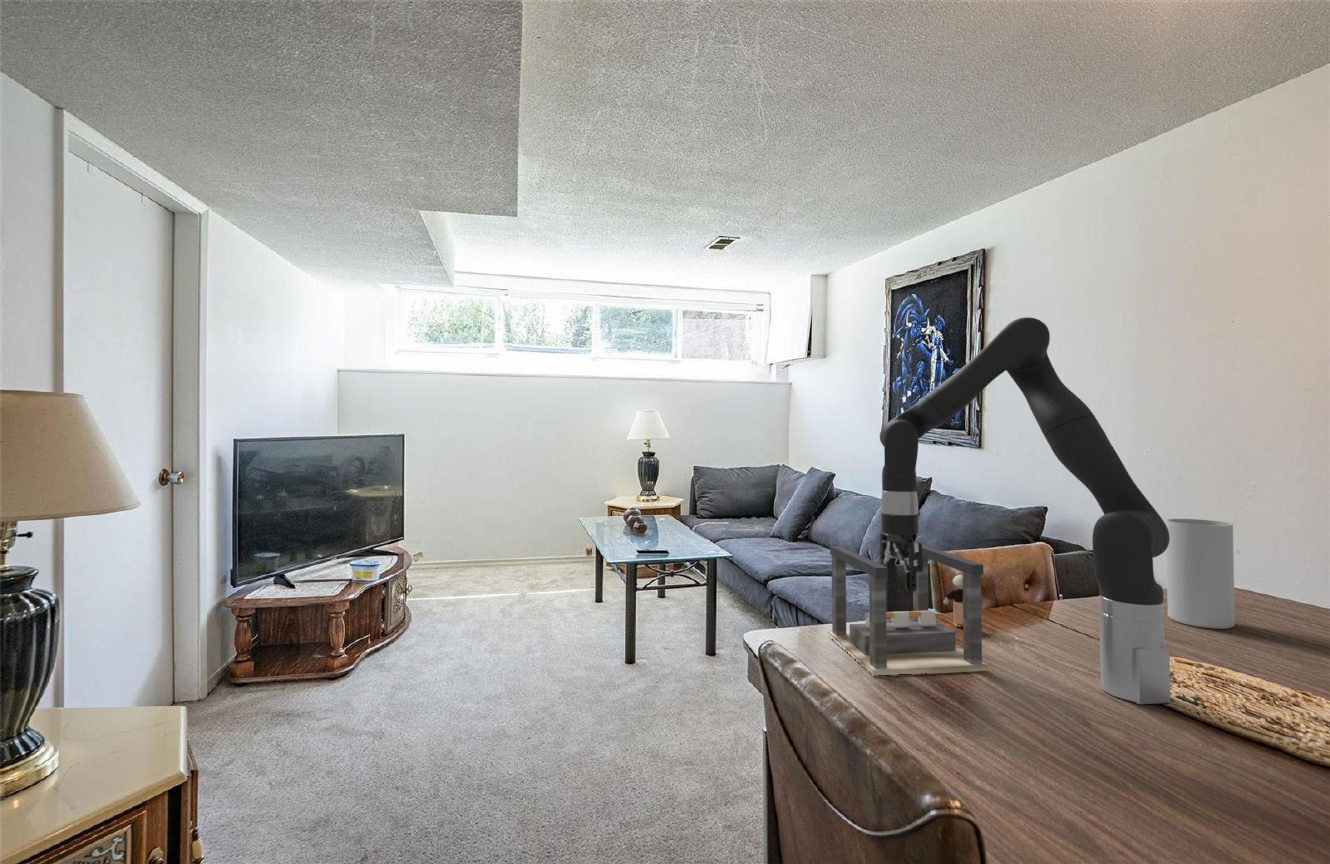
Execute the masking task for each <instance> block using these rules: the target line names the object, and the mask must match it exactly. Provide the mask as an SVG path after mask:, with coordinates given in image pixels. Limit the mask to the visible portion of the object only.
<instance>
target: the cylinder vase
mask: <svg viewBox="0 0 1330 864" xmlns="http://www.w3.org/2000/svg"><path fill="white" fill-rule="evenodd" d="M1165 524H1166V526H1167V528H1168V531H1169V537H1170V540H1169V545H1168V547H1167V549H1166V581H1167V582H1166V584H1167V585H1166V589H1167V590H1166V592H1167V595H1166V596H1167V599H1166V600H1167V616H1168V618H1170V619H1171V620H1172V621H1175V622H1177V623H1180V624H1183V625H1188V626H1190V627H1197V628H1203V629H1214V630H1225V629H1226V630H1227V629H1231V628H1233V627H1234V626H1235V625H1236V624H1235V623H1236V621H1235V617H1236V616H1235V573H1234V572H1235V567H1234V565H1235V563H1234V561H1235V560H1234V558H1235V557H1234V524H1233V523H1230V522H1227V521H1226V522H1225V521H1219V520H1211V519H1209V520H1208V519H1198V518H1196V519H1195V518H1194V519H1193V518H1170V519H1166V520H1165Z"/></svg>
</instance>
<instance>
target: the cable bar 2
mask: <svg viewBox="0 0 1330 864" xmlns="http://www.w3.org/2000/svg"><path fill="white" fill-rule="evenodd" d="M921 544H922V543H921ZM915 554H916V553H915ZM922 557H925V558H927V559H928V560H929V561H932V562H936V563H938V564H941V565H944V566H947V567H949V568H952V569H955V570H957V571H960V572H962V573H963V572H965V573H968V574H971V575H981V576H983V575H984V564H982V563H980V562H979V563H978V562H977V561H973V560H971V559H970V560H969V559H967V558H963V557H961V556H958V555H956V554H952V553H950V552H947V551H944V550H942V549H941V550H940V549H937V548H934V547H932V546H930V545H929V546H928V545H925V544H922Z"/></svg>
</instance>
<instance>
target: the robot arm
mask: <svg viewBox="0 0 1330 864" xmlns="http://www.w3.org/2000/svg"><path fill="white" fill-rule="evenodd" d="M1050 336H1051V335H1050V330H1049V327H1048V326H1047V324H1046V323H1044V322H1043V321H1042V320H1040V319H1037V318H1035V317H1029V316H1028V317H1027V316H1025V317H1020V318H1017V319H1014V320H1012V321H1011V322H1009V323H1008V324H1006V325H1005V326H1004V327H1003V329H1001V331H999V333H998V334H996V335H995V337H994V338H993V339H992V340H991V341H990V342H989V343H988V344H987V345H986V346H985V347H984V348H983V349H982V350H980V351H979V352H978V353H977V354H976V355H975V356H974V357H973V358H972V359H971V360H970V361H968V362H967V363H966V364H965V365H964V366H962V367H961V368H960V369H959V370H958V371H955V373H954V374H952V375H951V376H949V377H948V378H947V379H945V381H943V382H941V383H940V384H939V385H937V386H935V388H934V389H932V390H931V391H929V392H928V393H927V394H926V395H924V396H923V397H921V398H920V399H919V400H918V401H917V402H916V403H915V404H913V405H912V406H911V407H910V408H907V409H906V410H904V411H903V412H902V413H899V414H898V415H897V416H896V417H894V418H892V419H890V420H889V421H888V422H886V423H885V424H884V425H883V426H882V428H881V430H880V432H879V440H880V443H881V445H882V446H883V449H884V451H883V452H884V455H883V456H884V465H883V467H882V471H881V486H882V487H881V489H882V491H881V499H880V502H881V503H880V504H881V506H880V508H881V511H880V515H881V519H880V520H881V532H883V533H880V536H879V541H880V542H879V545H880V546H879V558H880V560H881V561H883V564H884V565H885V567H887V568H888V578H886V582H888V583H895V582H897V581H898V577H897V575H898V573H897V571H898V570H897V567H898V566H897V562H898V563H900V565H902V566H903V569H904V590H906V591H907V592H913V591H916V589H917V582H916V574H917V573H918V572H922V571H923V559H922V543H921V542H914V539H913V536H915V535H918V533H919V532H920V531H919V500H918V498H919V497H918V493H917V488H918V487H917V459H918V454H919V453H918V451H919V439H921V437H923V436H924V435H926V434H927V433H929V431H931V430H933V429H937V428H938V427H940V426H942V425H943V424H945V423H946V422H948V421H949V420H950V419H951V418H953V417H954V416H955V415H957V414H958V413H960V412H961V411H962V410H964V409H965V408H966V407H967V406H968V405H970V404H971V403H972V401H973V400H974V399H976V398H977V396H978V395H979V394H980V393H981V392H983V390H985V388H986V387H987V386H989V385H990V383H992V382H993V381H995V380H996V378H998V377H999V376H1000V375H1001V374H1003V373H1004V372H1007V373H1008V375H1009V376H1010V377H1011V379H1012V380H1013V382H1014V383H1015V385H1016V386H1017V387H1018V389H1019V390H1020V392H1021V393H1022V394H1023V396H1024V398H1025V400H1026V402H1027V404H1028V406H1029V409H1030V411H1031V412H1032V415H1033V417H1034V419H1035V420H1036V423H1037V425H1038V427H1039V428H1040V431H1041V432H1042V435H1043V436H1044V438H1045V440H1046V441H1047V443H1048V445H1049V447H1050V448H1051V450H1052V452H1053V454H1054V455H1055V458H1057V460H1058V461H1059V462H1060V463H1061V464H1062V465H1063V466H1064V467H1065V469H1067V470H1068V471H1069V473H1071V474H1072V475H1073V476H1074V477H1075V478H1076V479H1077V480H1078V481H1079V482H1080V483H1081V484H1083V485H1084V486H1085V487H1086V488H1087V490H1088V491H1089V492H1090V493H1091V495H1092V496H1093V497H1094V499H1095V501H1096V502H1097V503H1098V505H1099V507H1100V509H1101V511H1102V513H1103V515H1102V516H1100V517H1099V518H1098V519H1097V520H1096V522H1095V524H1094V526H1093V528H1092V529H1093V530H1092V558H1093V561H1092V562H1093V572H1094V577H1095V580H1096V582H1097V585H1098V588H1099V592H1098V593H1099V649H1100V650H1099V652H1100V653H1099V657H1100V663H1099V664H1100V666H1099V667H1100V688H1101V690H1102V691H1104V692H1105V693H1107V694H1109V695H1111V696H1113V697H1116V698H1120V699H1121V700H1126V701H1129V702H1133V703H1135V704H1138V705H1149V704H1150V705H1151V704H1170V703H1171V664H1170V663H1171V659H1170V658H1171V654H1170V648H1168V647H1166V646H1165V631H1164V630H1165V629H1164V627H1165V626H1164V625H1165V621H1164V617H1165V615H1164V614H1165V611H1164V607H1165V606H1164V589H1163V587H1162V586H1161V584H1159V583H1158V582H1157V580H1156V579H1155V574H1154V573H1155V572H1154V558H1157V557H1159V556H1160V555H1162V554H1164V553H1165V552H1166V551H1167V547H1168V545H1169V540H1170V537H1169V531H1168V528H1167V526H1166V522H1165V521H1164V519H1163V517H1161V516H1160V514H1159V513H1158V511H1157V510H1156V509H1155V508H1154V507H1153V505H1152V504H1151V503H1150V500H1148V499H1147V497H1146V496H1145V495H1144V494H1143V492H1142V491H1141V489H1140V488H1139V487H1138V486H1137V484H1136V483H1135V482H1134V480H1133V478H1132V476H1131V475H1130V474H1129V472H1128V470H1127V468H1126V466H1125V465H1124V463H1123V461H1122V460H1121V458H1120V456H1119V454H1118V453H1117V451H1116V450H1115V448H1114V446H1113V444H1112V443H1111V441H1110V440H1109V438H1108V436H1107V434H1106V433H1105V430H1104V429H1103V427H1102V426H1101V424H1100V422H1099V420H1098V419H1097V418H1096V416H1095V414H1094V413H1093V412H1092V410H1091V409H1090V408H1089V406H1088V405H1087V404H1086V403H1085V402H1084V401H1083V400H1082V399H1081V398H1080V397H1078V396H1077V395H1076V394H1075V393H1074V392H1073V391H1072V390H1071V389H1069V388H1068V387H1067V386H1066V385H1065V383H1064V382H1062V380H1061V379H1060V377H1059V375H1058V374H1057V372H1056V370H1055V368H1054V367H1053V364H1052V362H1051V360H1050V357H1049V356H1048V355H1049V354H1048V349H1049V346H1050V341H1051V339H1050ZM915 553H916V554H915ZM917 560H918V566H917V564H916V561H917Z"/></svg>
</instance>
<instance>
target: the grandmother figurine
mask: <svg viewBox="0 0 1330 864" xmlns="http://www.w3.org/2000/svg"><path fill="white" fill-rule="evenodd" d="M952 584H953V585H954V587H955V588H956V589H953V590H950V591H949V592H947V594H946V595H945V597H944V600H943V604H944V605H949V602H950V601H951V600H953V606H952V607H953V609H952V610H953V612H952V615H953V624H954V625H955V626H961V625H963V574H958V575H955V576H954V578H953V579H952Z"/></svg>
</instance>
